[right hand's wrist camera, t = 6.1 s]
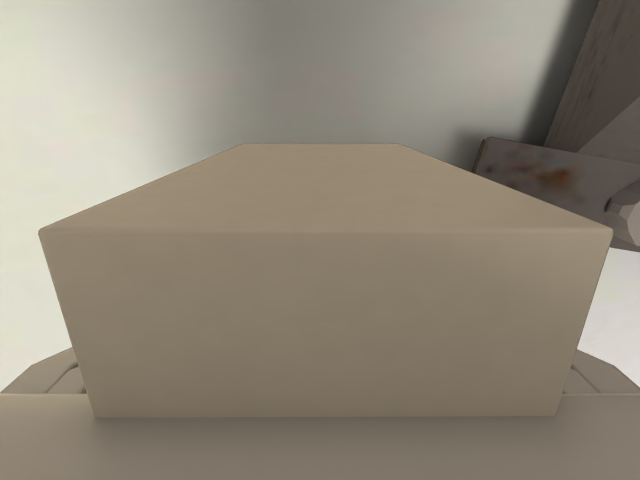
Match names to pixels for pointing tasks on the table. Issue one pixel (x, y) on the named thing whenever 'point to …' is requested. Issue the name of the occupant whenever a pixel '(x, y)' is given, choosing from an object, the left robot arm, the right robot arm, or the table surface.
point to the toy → (587, 133)
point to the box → (324, 289)
